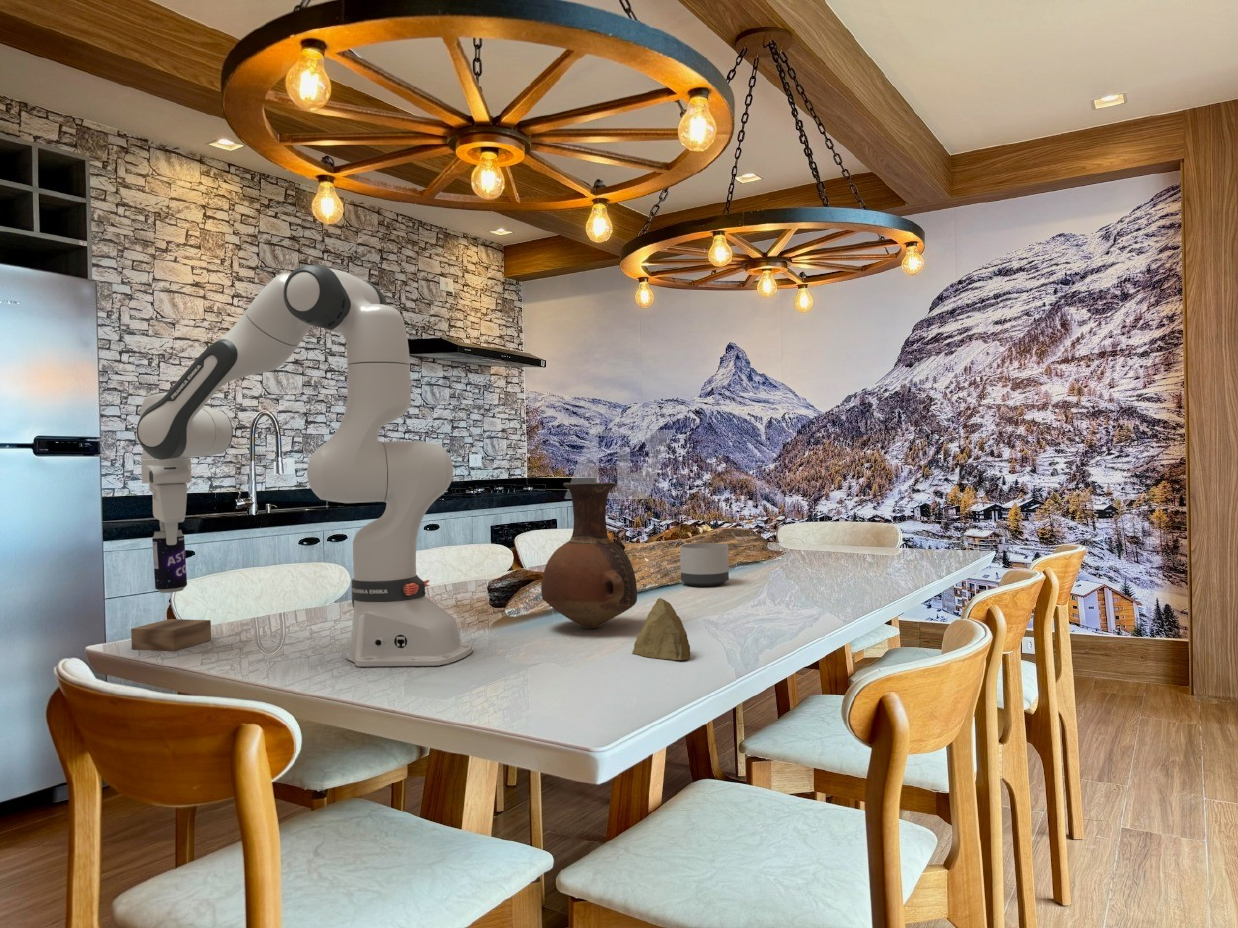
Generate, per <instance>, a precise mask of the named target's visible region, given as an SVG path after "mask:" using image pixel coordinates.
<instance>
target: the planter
mask: <svg viewBox="0 0 1238 928" xmlns="http://www.w3.org/2000/svg"><path fill="white" fill-rule="evenodd" d="M679 558H680V559H679V560H680V561H679V563H680V581H681V582H683V583H685V584H687V585H689V586H692V587H696V588H697V587H700V588H701V587H702V588H706V587H707V588H708V587H709V588H710V587H711V588H712V587H717V586H720V585H722V584H724V583H726V582H728V581H729V579H730V577H729V572H730V571H729V545H728V544H726V543H717V542H715V543H714V542H702V543H701V542H698V543H695V542H694V543H685V544H681V545H680V546H679Z"/></svg>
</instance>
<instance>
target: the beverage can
mask: <svg viewBox="0 0 1238 928" xmlns="http://www.w3.org/2000/svg"><path fill="white" fill-rule="evenodd" d="M182 531H183V530H182V529H178V530H177V543H176V544H175V545H167V544H166V531H161V530H159V531H154V532H153V533H154V534H153V536H152V539H151V540H152V541H151V543H152V557H153V571H154V572H153V573H154V575H153V576H154V588H155V590H156V591H158V592H159V593H160V594H167V593H177V592H181V591H184V589H185V588H186V587H187V586H188V579H187V578H188V577H187V562H186V545H185V543H186V541H185V535H184V534H183V532H182Z"/></svg>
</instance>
